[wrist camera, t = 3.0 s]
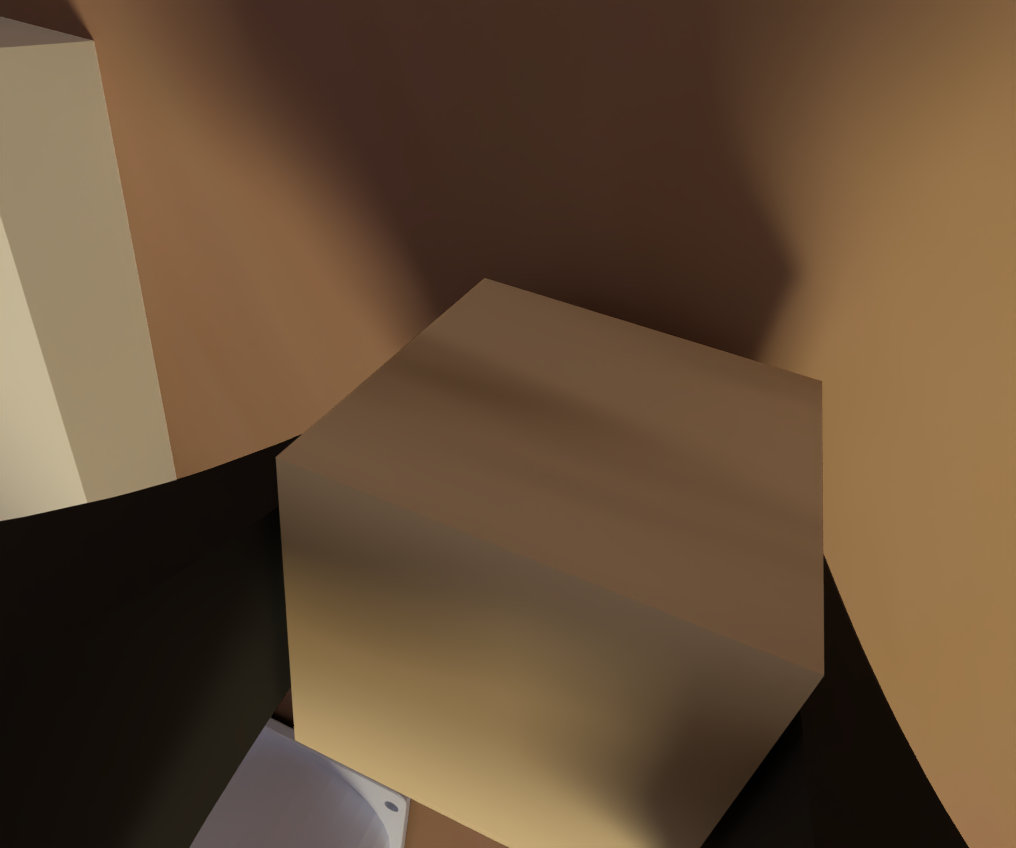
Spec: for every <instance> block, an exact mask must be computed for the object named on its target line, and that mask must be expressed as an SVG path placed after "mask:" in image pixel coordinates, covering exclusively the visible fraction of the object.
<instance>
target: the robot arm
mask: <svg viewBox="0 0 1016 848" xmlns="http://www.w3.org/2000/svg"><path fill="white" fill-rule="evenodd" d="M301 435H302V434H301ZM301 435H299V436H296V437H294V438H291V439H289V440H287V441H284V442H282V443H279V444H277V445H274V446H271V447H268V448H266V449H263V450H260V451H257V452H255V453H252V454H249V455H247V456H244V457H241V458H238V459H236V460H233V461H230V462H227V463H225V464H222V465H219V466H217V467H214V468H211V469H208V470H205V471H202V472H199V473H196V474H193V475H190V476H186V477H183V478H180V479H177V480H174V481H170V482H167V483H163V484H160V485H156V486H152V487H149V488H145V489H142V490H138V491H135V492H131V493H127V494H123V495H119V496H116V497H112V498H107V499H103V500H98V501H94V502H89V503H85V504H80V505H75V506H71V507H66V508H62V509H57V510H53V511H48V512H44V513H39V514H34V515H30V516H25V517H20V518H14V519H9V520H3V521H0V848H404V845H405V837H406V830H407V822H408V815H409V807H410V799H411V798H409V797H407V796H405V795H403V794H401V793H399V792H397V791H395V790H393V789H391V788H389V787H387V786H385V785H383V784H381V783H379V782H377V781H375V780H373V779H371V778H369V777H367V776H365V775H363V774H361V773H359V772H357V771H355V770H353V769H351V768H349V767H347V766H345V765H343V764H341V763H339V762H337V761H335V760H333V759H331V758H329V757H327V756H325V755H323V754H321V753H319V752H317V751H315V750H313V749H311V748H309V747H307V746H305V745H303V744H301V743H299V742H297V741H295V734H294V729H293V728H291V727H289V726H287V725H285V724H283V723H281V722H279V721H277V720H275V719H273V718H271V716H272V714H273V713H274V711H275V710H276V708H277V707H278V705H279V704H280V702H281V701H282V699H283V698H284V696H285V695H286V693H287V692H288V690H289V689H290V688H291V675H290V660H289V646H288V631H287V616H286V601H285V587H284V572H283V557H282V542H281V528H280V513H279V498H278V483H277V469H276V456H278V455H279V454H280V453H281V452H282V451H283V450H285V449H286V448H287V447H288V446H289V445H290V444H292V443H293V442H294V441H295V440H296V439H297V438H299V437H300V436H301ZM823 583H824V676H823V678H822V679H821V681H820V682H819V683H818V685H817V686H816V688H815V689H814V690H813V692H812V693H811V694H810V696H809V697H808V699H807V700H806V701H805V703H804V704H803V706H802V707H801V708H800V710H799V711H798V713H797V714H796V715H795V717H794V718H793V719H792V721H791V722H790V724H789V725H788V726H787V728H786V729H785V731H784V732H783V733H782V735H781V736H780V737H779V739H778V740H777V742H776V743H775V744H774V746H773V747H772V749H771V750H770V751H769V753H768V754H767V755H766V757H765V758H764V760H763V761H762V762H761V764H760V765H759V767H758V768H757V769H756V771H755V772H754V773H753V775H752V776H751V778H750V779H749V780H748V782H747V783H746V785H745V786H744V787H743V789H742V790H741V792H740V793H739V794H738V796H737V797H736V798H735V800H734V801H733V803H732V804H731V805H730V807H729V808H728V810H727V811H726V812H725V814H724V815H723V816H722V818H721V819H720V821H719V822H718V823H717V825H716V826H715V828H714V829H713V830H712V832H711V833H710V834H709V836H708V837H707V839H706V840H705V841H704V843H703V844H702V846H701V847H700V848H969V847H968V846H967V844H966V842H965V841H964V839H963V837H962V836H961V834H960V833H959V831H958V829H957V828H956V826H955V824H954V823H953V821H952V820H951V818H950V816H949V815H948V813H947V812H946V810H945V808H944V806H943V805H942V803H941V801H940V800H939V798H938V796H937V794H936V793H935V791H934V789H933V787H932V786H931V784H930V782H929V780H928V779H927V777H926V775H925V773H924V771H923V769H922V768H921V766H920V764H919V762H918V760H917V758H916V756H915V754H914V752H913V750H912V749H911V747H910V745H909V743H908V741H907V739H906V737H905V735H904V733H903V732H902V730H901V728H900V726H899V724H898V722H897V720H896V718H895V716H894V714H893V712H892V710H891V708H890V706H889V704H888V702H887V700H886V697H885V695H884V693H883V691H882V689H881V687H880V685H879V682H878V680H877V678H876V676H875V674H874V672H873V670H872V667H871V665H870V663H869V661H868V659H867V657H866V655H865V652H864V650H863V648H862V646H861V643H860V641H859V639H858V636H857V634H856V632H855V630H854V627H853V625H852V622H851V620H850V618H849V615H848V613H847V611H846V608H845V606H844V603H843V601H842V598H841V596H840V594H839V591H838V589H837V586H836V584H835V581H834V579H833V576H832V574H831V571H830V569H829V566H828V564H827V561H826V559H825V556H824V554H823Z"/></svg>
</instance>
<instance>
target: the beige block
mask: <svg viewBox="0 0 1016 848" xmlns="http://www.w3.org/2000/svg"><path fill="white" fill-rule="evenodd" d="M174 480H177V478H176V473H175V468H174V462H173V457H172V452H171V446H170V441H169V436H168V430H167V425H166V420H165V415H164V409H163V404H162V399H161V393H160V388H159V383H158V377H157V372H156V367H155V361H154V356H153V351H152V345H151V340H150V335H149V330H148V324H147V319H146V314H145V308H144V303H143V298H142V292H141V287H140V282H139V276H138V271H137V266H136V261H135V255H134V250H133V245H132V239H131V234H130V229H129V223H128V218H127V213H126V207H125V202H124V197H123V192H122V186H121V181H120V176H119V170H118V165H117V160H116V154H115V149H114V144H113V138H112V133H111V128H110V122H109V117H108V112H107V107H106V101H105V96H104V91H103V85H102V80H101V75H100V69H99V64H98V59H97V53H96V48H95V43H94V41H93V40H90V39H86V38H82V37H78V36H74V35H70V34H66V33H62V32H59V31H55V30H51V29H47V28H43V27H39V26H35V25H32V24H28V23H24V22H20V21H16V20H12V19H8V18H5V17H1V16H0V521H3V520H9V519H14V518H20V517H25V516H30V515H34V514H39V513H44V512H48V511H53V510H57V509H62V508H66V507H71V506H75V505H80V504H85V503H89V502H94V501H98V500H103V499H107V498H112V497H116V496H119V495H123V494H127V493H131V492H135V491H138V490H142V489H145V488H149V487H152V486H156V485H160V484H163V483H167V482H170V481H174Z"/></svg>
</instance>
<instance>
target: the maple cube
mask: <svg viewBox="0 0 1016 848" xmlns="http://www.w3.org/2000/svg"><path fill="white" fill-rule="evenodd" d="M276 469H277V483H278V498H279V513H280V528H281V542H282V557H283V572H284V587H285V601H286V616H287V631H288V646H289V660H290V675H291V690H292V705H293V719H294V734H295V741H297V742H299V743H301V744H303V745H305V746H307V747H309V748H311V749H313V750H315V751H317V752H319V753H321V754H323V755H325V756H327V757H329V758H331V759H333V760H335V761H337V762H339V763H341V764H343V765H345V766H347V767H349V768H351V769H353V770H355V771H357V772H359V773H361V774H363V775H365V776H367V777H369V778H371V779H373V780H375V781H377V782H379V783H381V784H383V785H385V786H387V787H389V788H391V789H393V790H395V791H397V792H399V793H401V794H403V795H405V796H407V797H409V798H411V799H413V800H415V801H417V802H419V803H421V804H423V805H425V806H427V807H429V808H431V809H433V810H435V811H437V812H439V813H441V814H443V815H445V816H447V817H449V818H451V819H453V820H455V821H457V822H459V823H461V824H463V825H465V826H467V827H469V828H471V829H473V830H475V831H477V832H479V833H481V834H483V835H485V836H487V837H489V838H491V839H493V840H495V841H497V842H499V843H501V844H503V845H505V846H507V847H509V848H700V847H701V846H702V844H703V843H704V841H705V840H706V839H707V837H708V836H709V834H710V833H711V832H712V830H713V829H714V828H715V826H716V825H717V823H718V822H719V821H720V819H721V818H722V816H723V815H724V814H725V812H726V811H727V810H728V808H729V807H730V805H731V804H732V803H733V801H734V800H735V798H736V797H737V796H738V794H739V793H740V792H741V790H742V789H743V787H744V786H745V785H746V783H747V782H748V780H749V779H750V778H751V776H752V775H753V773H754V772H755V771H756V769H757V768H758V767H759V765H760V764H761V762H762V761H763V760H764V758H765V757H766V755H767V754H768V753H769V751H770V750H771V749H772V747H773V746H774V744H775V743H776V742H777V740H778V739H779V737H780V736H781V735H782V733H783V732H784V731H785V729H786V728H787V726H788V725H789V724H790V722H791V721H792V719H793V718H794V717H795V715H796V714H797V713H798V711H799V710H800V708H801V707H802V706H803V704H804V703H805V701H806V700H807V699H808V697H809V696H810V694H811V693H812V692H813V690H814V689H815V688H816V686H817V685H818V683H819V682H820V681H821V679H822V678H823V676H824V583H823V450H822V381H819V380H816V379H813V378H809V377H806V376H803V375H800V374H796V373H793V372H790V371H787V370H783V369H780V368H777V367H774V366H770V365H767V364H764V363H760V362H757V361H754V360H751V359H747V358H744V357H741V356H738V355H734V354H731V353H728V352H725V351H721V350H718V349H715V348H712V347H708V346H705V345H702V344H699V343H695V342H692V341H689V340H685V339H682V338H679V337H676V336H672V335H669V334H666V333H663V332H659V331H656V330H653V329H650V328H646V327H643V326H640V325H637V324H633V323H630V322H627V321H624V320H620V319H617V318H614V317H610V316H607V315H604V314H601V313H597V312H594V311H591V310H588V309H584V308H581V307H578V306H575V305H571V304H568V303H565V302H562V301H558V300H555V299H552V298H549V297H545V296H542V295H539V294H535V293H532V292H529V291H526V290H522V289H519V288H516V287H513V286H509V285H506V284H503V283H500V282H496V281H493V280H490V279H487V278H484V279H483V280H482V281H480V282H479V283H478V284H477V285H476V286H475V287H473V288H472V289H471V290H470V291H469V292H468V293H466V294H465V295H464V296H463V297H462V298H461V299H459V300H458V301H457V302H456V303H455V304H454V305H452V306H451V307H450V308H449V309H448V310H447V311H445V312H444V313H443V314H442V315H441V316H440V317H438V318H437V319H436V320H435V321H434V322H433V323H431V324H430V325H429V326H428V327H427V328H426V329H424V330H423V331H422V332H421V333H420V334H419V335H417V336H416V337H415V338H414V339H413V340H412V341H410V342H409V343H408V344H407V345H406V346H405V347H403V348H402V349H401V350H400V351H399V352H398V353H397V354H395V355H394V356H393V357H392V358H391V359H390V360H388V361H387V362H386V363H385V364H384V365H383V366H381V367H380V368H379V369H378V370H377V371H376V372H374V373H373V374H372V375H371V376H370V377H369V378H367V379H366V380H365V381H364V382H363V383H362V384H360V385H359V386H358V387H357V388H356V389H355V390H353V391H352V392H351V393H350V394H349V395H348V396H346V397H345V398H344V399H343V400H342V401H341V402H339V403H338V404H337V405H336V406H335V407H334V408H332V409H331V410H330V411H329V412H328V413H327V414H325V415H324V416H323V417H322V418H321V419H320V420H318V421H317V422H316V423H315V424H314V425H313V426H311V427H310V428H309V429H308V430H307V431H306V432H304V433H303V434H302V435H301V436H300V437H299V438H297V439H296V440H295V441H294V442H293V443H292V444H290V445H289V446H288V447H287V448H286V449H285V450H283V451H282V452H281V453H280V454H279V455H278V456H276Z"/></svg>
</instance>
